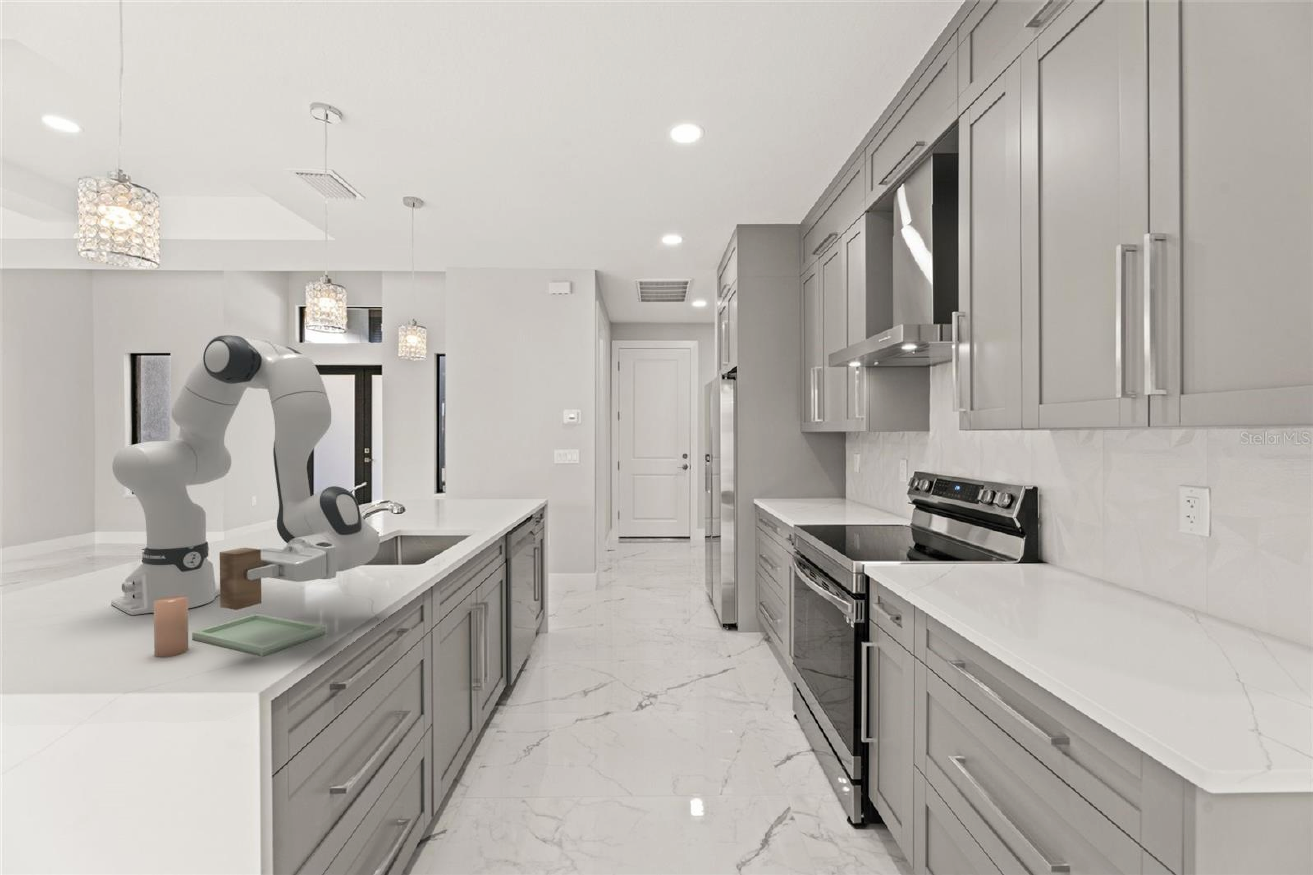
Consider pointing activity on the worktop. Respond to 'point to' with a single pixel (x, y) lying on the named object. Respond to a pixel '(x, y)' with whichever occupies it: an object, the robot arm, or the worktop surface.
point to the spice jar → (170, 626)
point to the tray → (258, 634)
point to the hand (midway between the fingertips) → (235, 573)
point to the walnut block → (239, 578)
